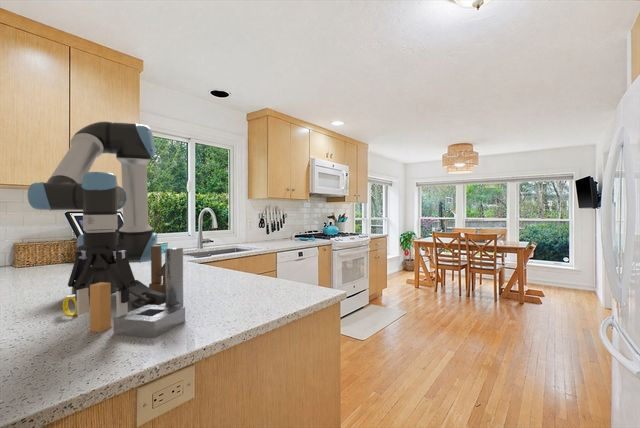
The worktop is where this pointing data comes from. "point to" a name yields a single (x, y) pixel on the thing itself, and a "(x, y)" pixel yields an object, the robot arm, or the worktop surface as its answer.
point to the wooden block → (157, 270)
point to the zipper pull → (150, 294)
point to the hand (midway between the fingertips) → (102, 314)
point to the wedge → (100, 306)
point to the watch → (65, 305)
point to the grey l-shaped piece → (161, 316)
